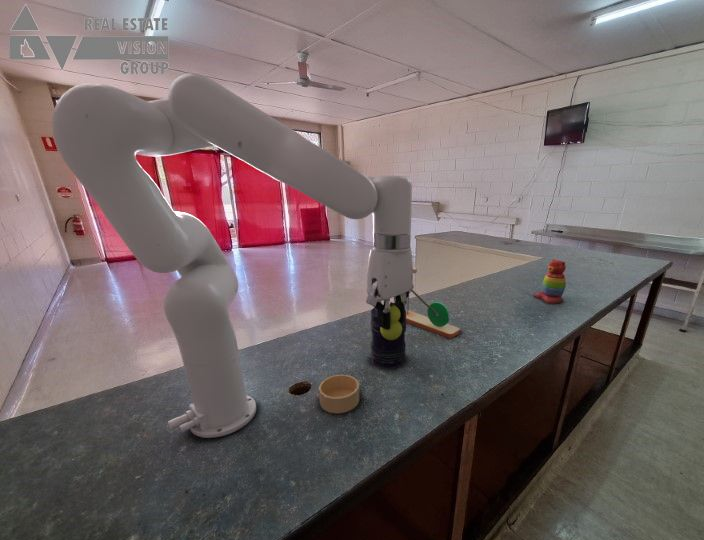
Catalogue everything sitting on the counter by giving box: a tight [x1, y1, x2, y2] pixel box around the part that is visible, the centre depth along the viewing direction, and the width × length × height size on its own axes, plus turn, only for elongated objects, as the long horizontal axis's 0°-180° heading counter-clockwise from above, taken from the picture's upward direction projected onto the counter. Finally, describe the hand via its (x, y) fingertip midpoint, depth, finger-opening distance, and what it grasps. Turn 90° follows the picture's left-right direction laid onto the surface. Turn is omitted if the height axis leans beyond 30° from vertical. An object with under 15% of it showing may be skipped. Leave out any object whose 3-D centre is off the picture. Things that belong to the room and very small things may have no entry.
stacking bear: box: [534, 258, 567, 304], centre depth 140 cm, size 11×10×18 cm
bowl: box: [318, 374, 360, 414], centre depth 73 cm, size 9×9×4 cm
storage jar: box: [370, 307, 407, 369], centre depth 88 cm, size 10×10×15 cm
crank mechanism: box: [405, 266, 461, 339], centre depth 111 cm, size 25×7×19 cm, turn 49°
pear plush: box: [380, 301, 402, 340], centre depth 69 cm, size 5×5×9 cm
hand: (391, 323), depth 70 cm, fingers closed on pear plush, 4 cm apart
